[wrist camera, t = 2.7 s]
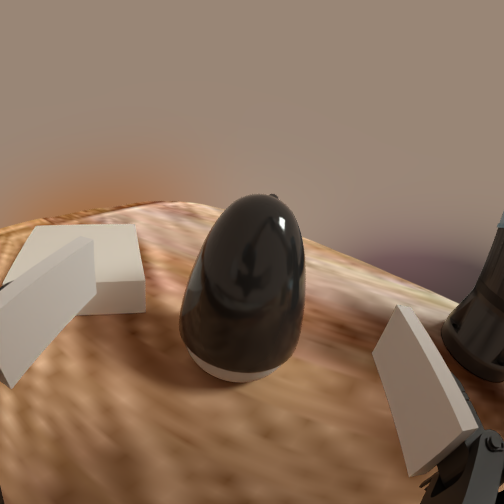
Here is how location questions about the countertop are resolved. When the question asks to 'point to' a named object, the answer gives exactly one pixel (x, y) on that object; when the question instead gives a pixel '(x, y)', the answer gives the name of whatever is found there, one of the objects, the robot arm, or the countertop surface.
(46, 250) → the riser
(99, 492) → the countertop surface
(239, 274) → the dark brown rounded piece
